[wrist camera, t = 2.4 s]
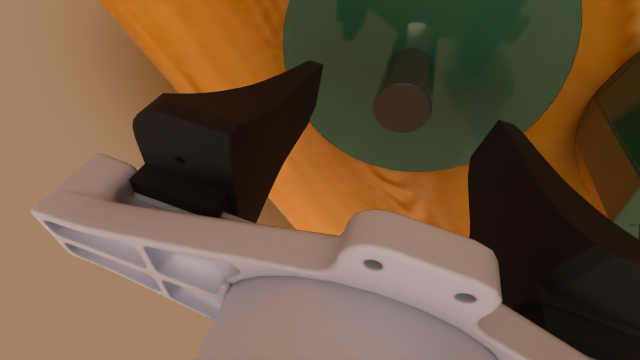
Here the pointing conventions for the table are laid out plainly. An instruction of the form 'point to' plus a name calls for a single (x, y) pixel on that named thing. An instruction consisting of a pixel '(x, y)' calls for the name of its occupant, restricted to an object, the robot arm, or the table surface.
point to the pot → (613, 148)
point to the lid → (430, 72)
